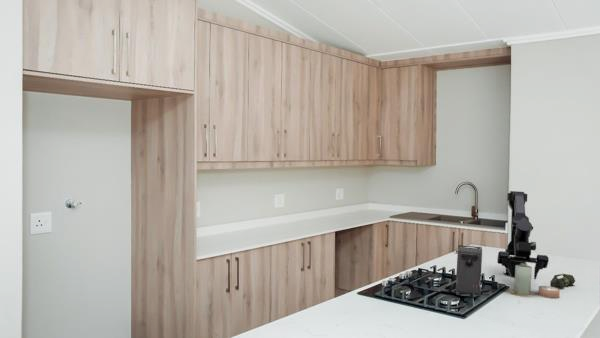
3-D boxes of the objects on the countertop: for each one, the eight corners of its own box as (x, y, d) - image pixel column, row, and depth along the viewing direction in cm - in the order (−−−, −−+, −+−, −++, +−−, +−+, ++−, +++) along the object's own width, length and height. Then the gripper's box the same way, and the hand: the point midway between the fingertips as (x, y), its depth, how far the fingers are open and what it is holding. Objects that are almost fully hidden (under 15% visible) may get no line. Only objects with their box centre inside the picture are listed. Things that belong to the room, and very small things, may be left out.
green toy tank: (575, 285, 225) (558, 292, 213) (563, 283, 229) (545, 289, 217) (576, 271, 224) (559, 278, 213) (564, 269, 228) (546, 275, 216)
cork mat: (504, 292, 208) (504, 291, 208) (516, 289, 213) (516, 288, 213) (525, 298, 200) (525, 297, 200) (537, 295, 206) (537, 294, 206)
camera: (479, 297, 214) (481, 249, 218) (480, 298, 198) (482, 246, 202) (452, 294, 217) (454, 247, 221) (450, 295, 202) (453, 243, 206)
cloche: (510, 292, 207) (512, 262, 206) (519, 290, 211) (520, 261, 210) (524, 296, 202) (526, 266, 201) (533, 294, 206) (534, 264, 205)
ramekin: (534, 294, 206) (534, 287, 206) (544, 292, 210) (544, 284, 210) (553, 300, 200) (553, 292, 200) (563, 297, 204) (563, 289, 204)
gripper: (499, 231, 211) (500, 264, 202) (549, 235, 206) (552, 269, 196) (497, 247, 219) (497, 279, 209) (544, 251, 214) (547, 284, 204)
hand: (523, 277), depth 205 cm, fingers open, 8 cm apart
